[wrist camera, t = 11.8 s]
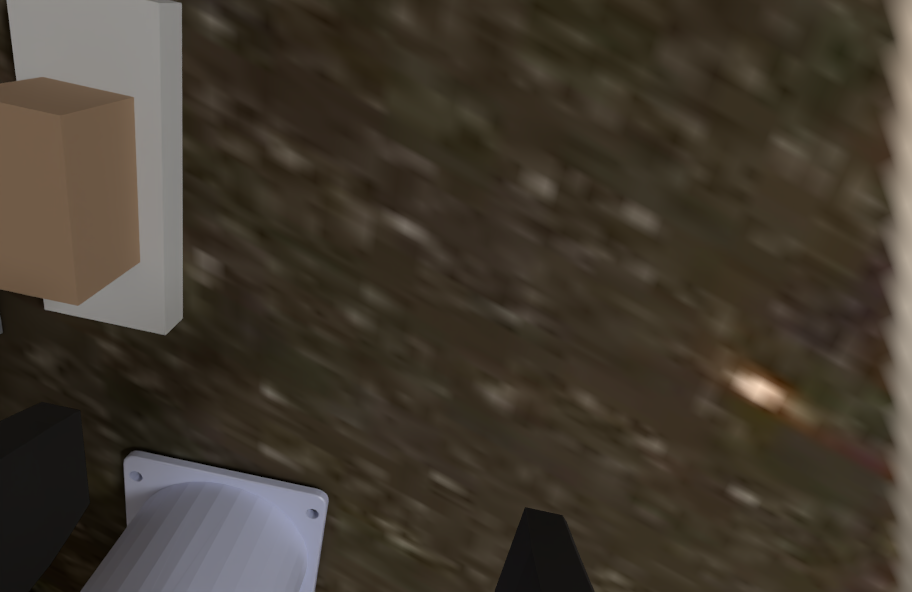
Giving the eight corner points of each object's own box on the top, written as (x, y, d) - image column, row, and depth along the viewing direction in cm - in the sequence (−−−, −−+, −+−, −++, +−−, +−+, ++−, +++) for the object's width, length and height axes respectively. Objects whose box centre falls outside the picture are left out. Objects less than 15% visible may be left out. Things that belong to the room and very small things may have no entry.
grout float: (187, 313, 21) (111, 387, 17) (74, 289, 21) (-29, 358, 17) (187, 3, 17) (84, 2, 12) (43, -30, 16) (-107, -40, 12)
